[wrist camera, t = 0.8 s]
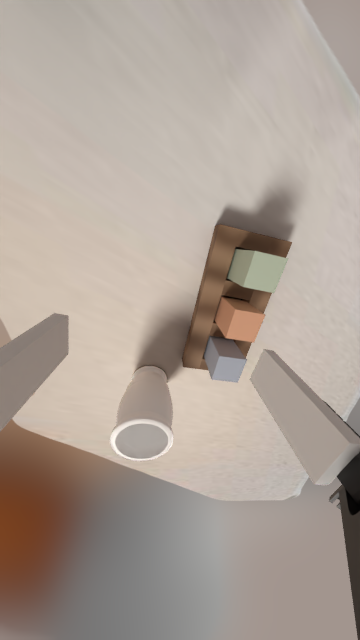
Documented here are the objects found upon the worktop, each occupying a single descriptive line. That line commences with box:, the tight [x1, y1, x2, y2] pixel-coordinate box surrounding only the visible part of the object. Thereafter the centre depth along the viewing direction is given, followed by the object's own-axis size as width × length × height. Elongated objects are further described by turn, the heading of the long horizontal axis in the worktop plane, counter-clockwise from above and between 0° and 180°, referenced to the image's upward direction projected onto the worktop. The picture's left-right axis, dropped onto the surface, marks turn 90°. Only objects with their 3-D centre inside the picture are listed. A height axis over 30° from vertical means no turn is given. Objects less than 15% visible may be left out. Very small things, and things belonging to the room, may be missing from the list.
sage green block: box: [227, 249, 288, 293], centre depth 29 cm, size 5×5×8 cm
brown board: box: [182, 224, 292, 370], centre depth 36 cm, size 28×13×3 cm, turn 168°
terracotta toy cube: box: [215, 296, 265, 342], centre depth 32 cm, size 5×5×8 cm
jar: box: [110, 366, 173, 461], centre depth 37 cm, size 11×10×15 cm
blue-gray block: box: [204, 336, 247, 383], centre depth 35 cm, size 5×5×8 cm
